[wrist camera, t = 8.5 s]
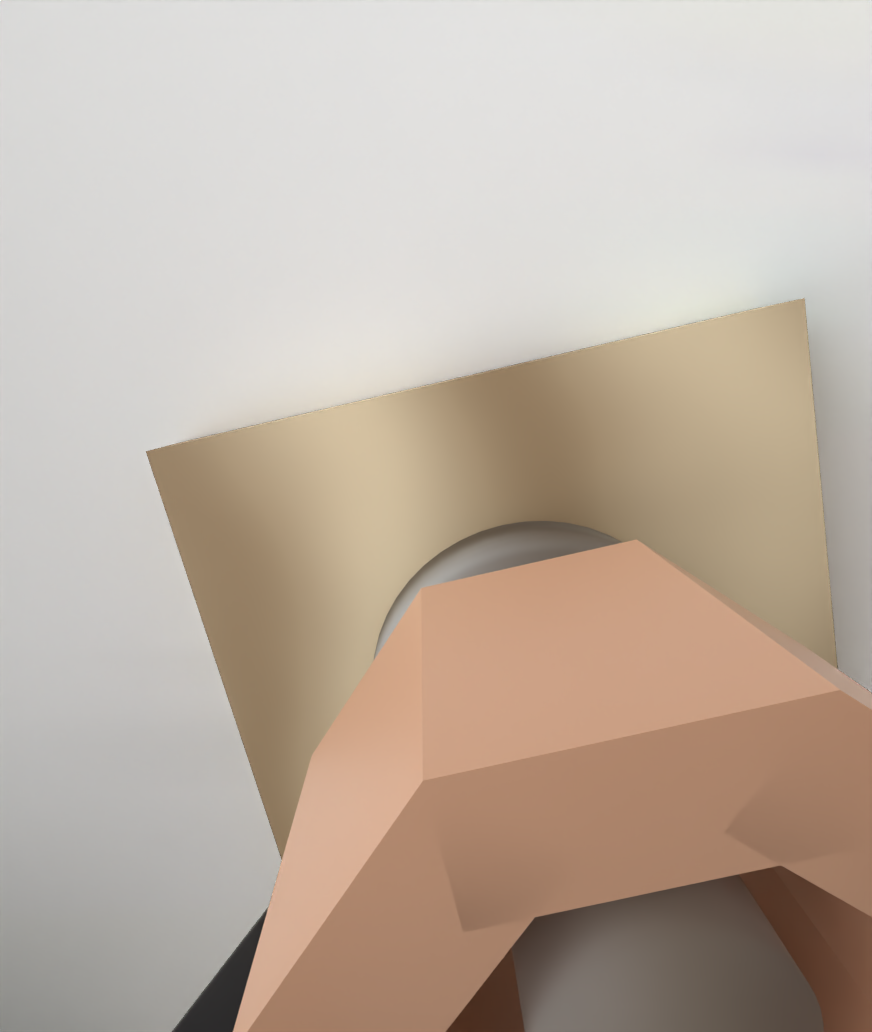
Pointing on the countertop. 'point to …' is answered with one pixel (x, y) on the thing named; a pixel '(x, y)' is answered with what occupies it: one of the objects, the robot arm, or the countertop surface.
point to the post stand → (514, 542)
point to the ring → (565, 795)
